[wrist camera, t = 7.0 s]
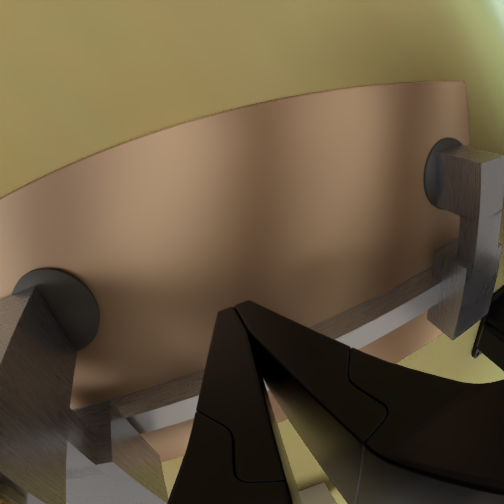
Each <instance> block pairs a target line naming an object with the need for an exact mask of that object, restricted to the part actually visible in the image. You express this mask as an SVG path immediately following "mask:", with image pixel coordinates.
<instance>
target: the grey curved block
mask: <svg viewBox="0 0 504 504" xmlns="http://www.w3.org/2000/svg"><path fill="white" fill-rule="evenodd" d="M298 492H299V495H300V498H301V501H302V504H337V503H336V501H335V500H334V498H333V496H332V495H331V493H330V491H329V490H328V488H327V486H326V485H325V483H324V482H323V483H321V484H318V485H315V486H312V487H310V488H307V489H304V490H301V491H298Z"/></svg>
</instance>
